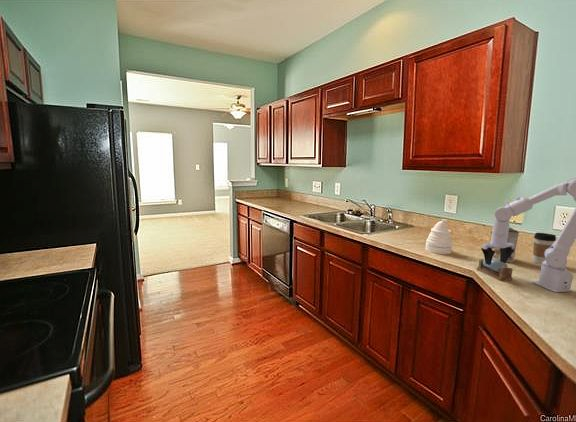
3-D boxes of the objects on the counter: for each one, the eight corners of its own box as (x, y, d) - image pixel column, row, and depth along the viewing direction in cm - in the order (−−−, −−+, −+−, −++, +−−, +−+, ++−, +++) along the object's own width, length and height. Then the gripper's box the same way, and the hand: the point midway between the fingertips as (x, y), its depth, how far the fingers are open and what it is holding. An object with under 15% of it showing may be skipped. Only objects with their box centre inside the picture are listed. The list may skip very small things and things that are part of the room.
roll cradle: (487, 269, 142) (489, 258, 141) (511, 279, 129) (513, 268, 128) (476, 269, 140) (478, 259, 140) (499, 280, 128) (501, 269, 127)
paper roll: (506, 273, 131) (508, 262, 130) (496, 274, 130) (498, 263, 129) (491, 267, 139) (493, 256, 138) (481, 267, 138) (483, 256, 137)
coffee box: (491, 255, 162) (496, 226, 159) (505, 256, 160) (510, 227, 157) (500, 261, 153) (505, 230, 150) (514, 262, 151) (519, 231, 148)
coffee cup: (543, 266, 147) (548, 236, 145) (525, 260, 155) (530, 232, 153) (555, 264, 150) (561, 235, 147) (537, 259, 158) (542, 231, 155)
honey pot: (456, 253, 164) (460, 221, 161) (437, 255, 161) (441, 222, 157) (438, 246, 176) (442, 216, 173) (420, 247, 173) (423, 217, 169)
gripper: (506, 231, 137) (501, 260, 139) (478, 232, 134) (474, 261, 137) (520, 235, 130) (515, 265, 132) (491, 236, 127) (486, 267, 130)
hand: (495, 263), depth 134 cm, fingers open, 7 cm apart
